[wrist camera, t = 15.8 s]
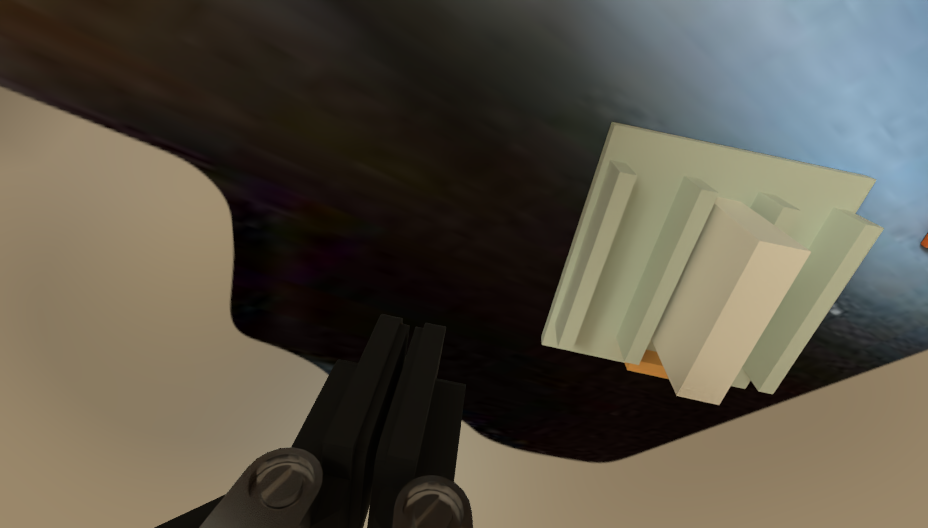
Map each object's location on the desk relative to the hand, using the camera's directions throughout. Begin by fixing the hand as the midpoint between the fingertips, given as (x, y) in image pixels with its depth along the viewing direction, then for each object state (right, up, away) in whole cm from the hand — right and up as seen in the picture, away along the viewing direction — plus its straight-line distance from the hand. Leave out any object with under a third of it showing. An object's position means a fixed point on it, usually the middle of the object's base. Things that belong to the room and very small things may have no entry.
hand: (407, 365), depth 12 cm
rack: (+20, +2, +26) cm, 33 cm away
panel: (+20, +2, +25) cm, 32 cm away
